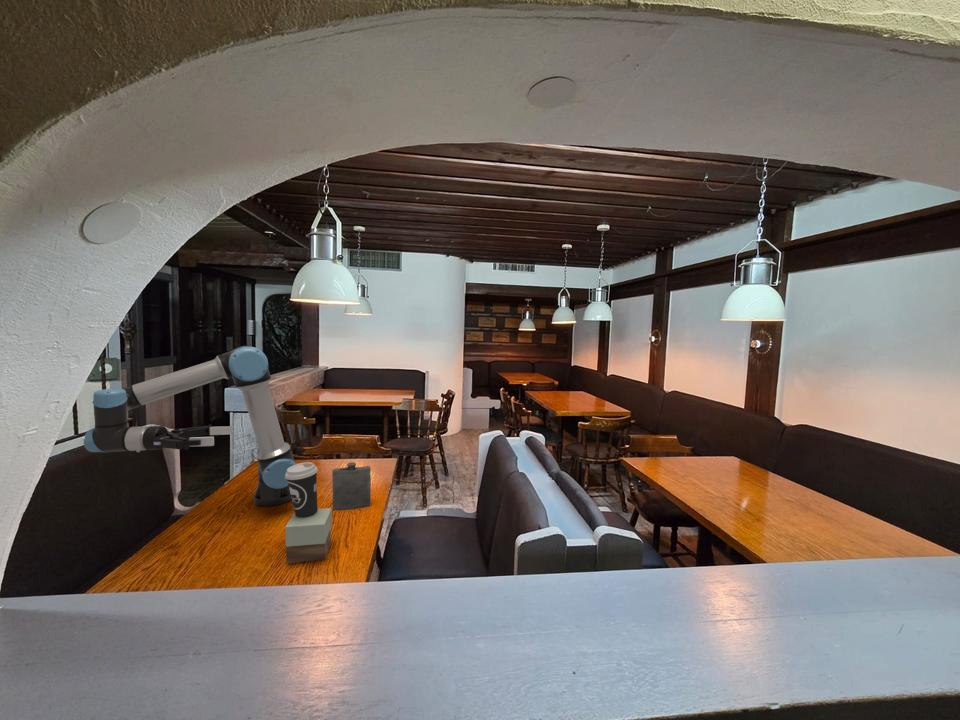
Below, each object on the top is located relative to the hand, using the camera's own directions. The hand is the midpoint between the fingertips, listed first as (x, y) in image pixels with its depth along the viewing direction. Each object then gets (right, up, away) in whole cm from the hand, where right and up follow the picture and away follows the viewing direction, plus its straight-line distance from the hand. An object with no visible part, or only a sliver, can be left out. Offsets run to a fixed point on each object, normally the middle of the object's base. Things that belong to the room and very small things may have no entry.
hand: (223, 435), depth 128 cm
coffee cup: (+29, -24, -4) cm, 38 cm away
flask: (+34, -34, +26) cm, 55 cm away
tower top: (+31, -30, -6) cm, 44 cm away
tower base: (+31, -36, -5) cm, 48 cm away
